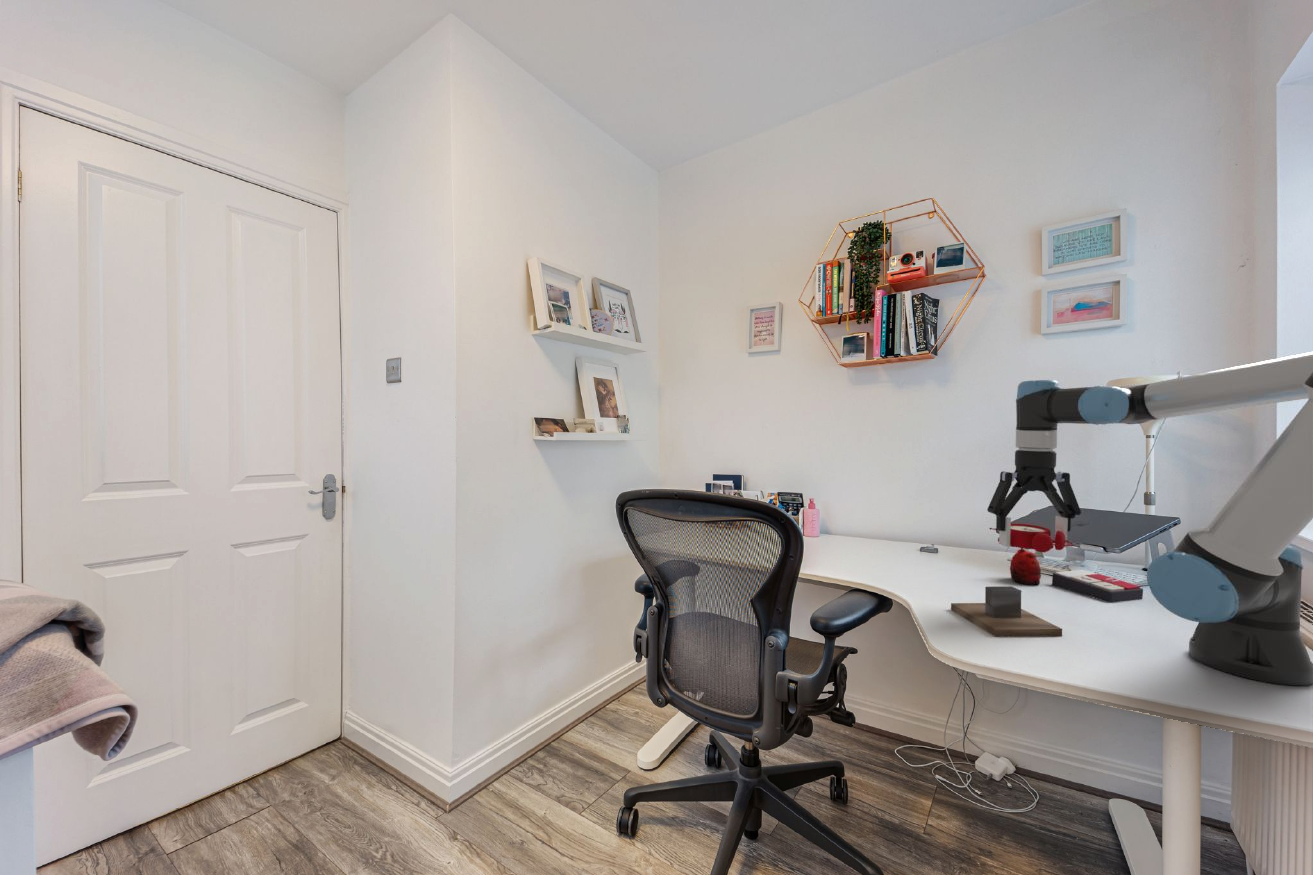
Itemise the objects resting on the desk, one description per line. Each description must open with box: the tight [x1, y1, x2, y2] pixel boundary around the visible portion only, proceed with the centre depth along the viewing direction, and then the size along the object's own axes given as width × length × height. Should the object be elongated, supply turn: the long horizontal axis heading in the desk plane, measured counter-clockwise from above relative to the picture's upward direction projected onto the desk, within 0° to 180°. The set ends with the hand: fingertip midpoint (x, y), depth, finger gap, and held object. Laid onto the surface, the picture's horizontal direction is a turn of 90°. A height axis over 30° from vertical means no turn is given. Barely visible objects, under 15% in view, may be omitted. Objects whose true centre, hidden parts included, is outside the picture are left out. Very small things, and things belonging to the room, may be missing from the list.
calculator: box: [1051, 569, 1144, 604], centre depth 137 cm, size 11×4×15 cm
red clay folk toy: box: [1009, 548, 1042, 586], centre depth 145 cm, size 8×7×15 cm
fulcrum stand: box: [950, 585, 1063, 638], centre depth 116 cm, size 16×14×8 cm
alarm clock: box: [989, 523, 1074, 553], centre depth 118 cm, size 10×6×15 cm
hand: (1032, 545), depth 118 cm, fingers closed on alarm clock, 12 cm apart
